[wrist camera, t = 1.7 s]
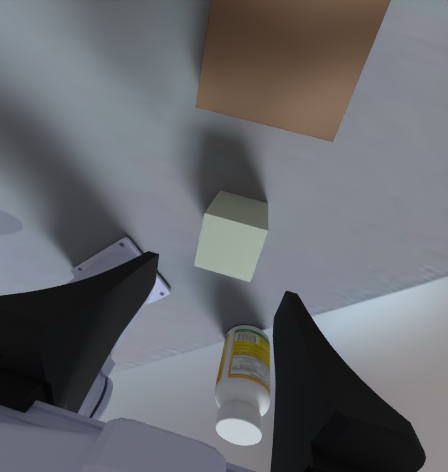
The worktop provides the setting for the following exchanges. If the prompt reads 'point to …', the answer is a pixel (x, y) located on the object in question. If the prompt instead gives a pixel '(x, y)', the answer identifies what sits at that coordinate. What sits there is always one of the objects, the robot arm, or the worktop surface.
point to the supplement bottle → (243, 385)
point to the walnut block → (287, 60)
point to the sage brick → (232, 235)
